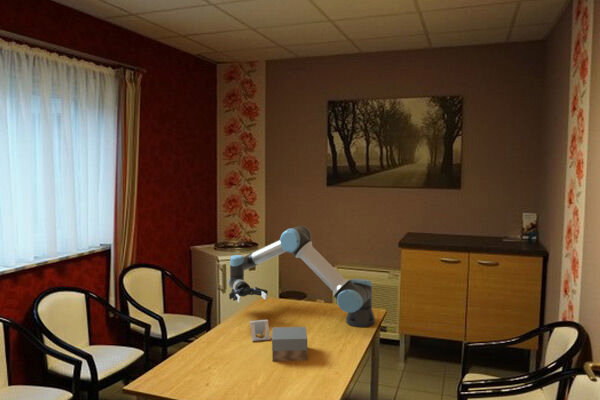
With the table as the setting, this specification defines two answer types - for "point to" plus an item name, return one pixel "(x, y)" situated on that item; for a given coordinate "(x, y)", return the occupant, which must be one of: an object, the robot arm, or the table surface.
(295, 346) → the tower top block
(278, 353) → the tower bottom block
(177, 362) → the table surface
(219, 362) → the table surface
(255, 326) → the portable electronic device stand
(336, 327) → the table surface
